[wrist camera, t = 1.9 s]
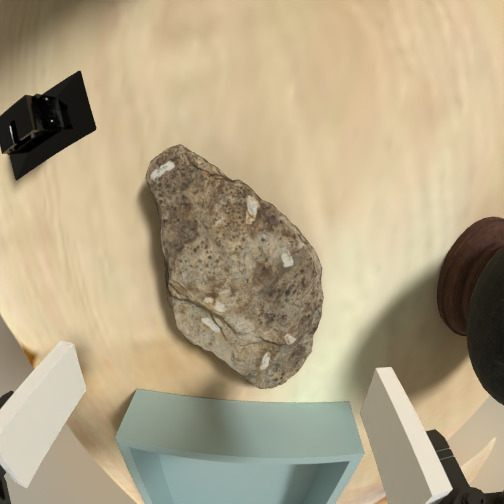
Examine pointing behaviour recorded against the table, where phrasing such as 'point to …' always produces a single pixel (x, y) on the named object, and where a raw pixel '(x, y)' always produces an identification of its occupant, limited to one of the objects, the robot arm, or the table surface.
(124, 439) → the storage tub
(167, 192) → the rock
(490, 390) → the black globe on stand
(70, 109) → the build plate
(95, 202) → the table surface
